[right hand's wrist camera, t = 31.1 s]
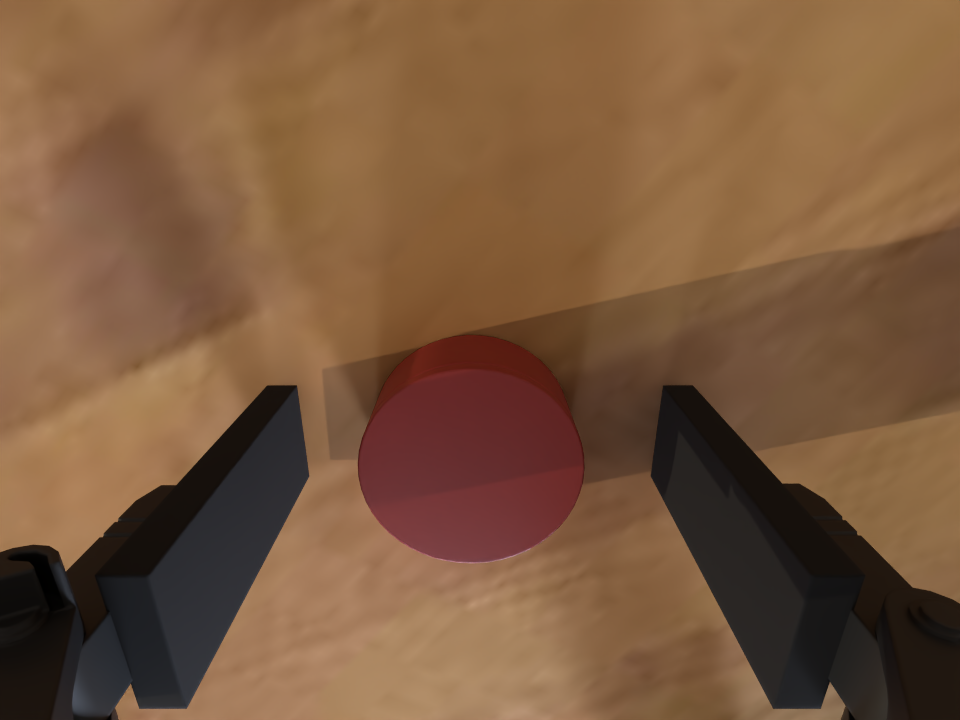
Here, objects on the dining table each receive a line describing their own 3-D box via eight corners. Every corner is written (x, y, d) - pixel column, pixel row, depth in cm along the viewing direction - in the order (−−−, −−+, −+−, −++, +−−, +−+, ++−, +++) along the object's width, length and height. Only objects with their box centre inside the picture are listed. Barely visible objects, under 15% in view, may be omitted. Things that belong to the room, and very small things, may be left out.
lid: (485, 292, 13) (487, 320, 11) (606, 436, 14) (628, 485, 12) (335, 414, 14) (309, 461, 12) (460, 535, 16) (458, 597, 13)
